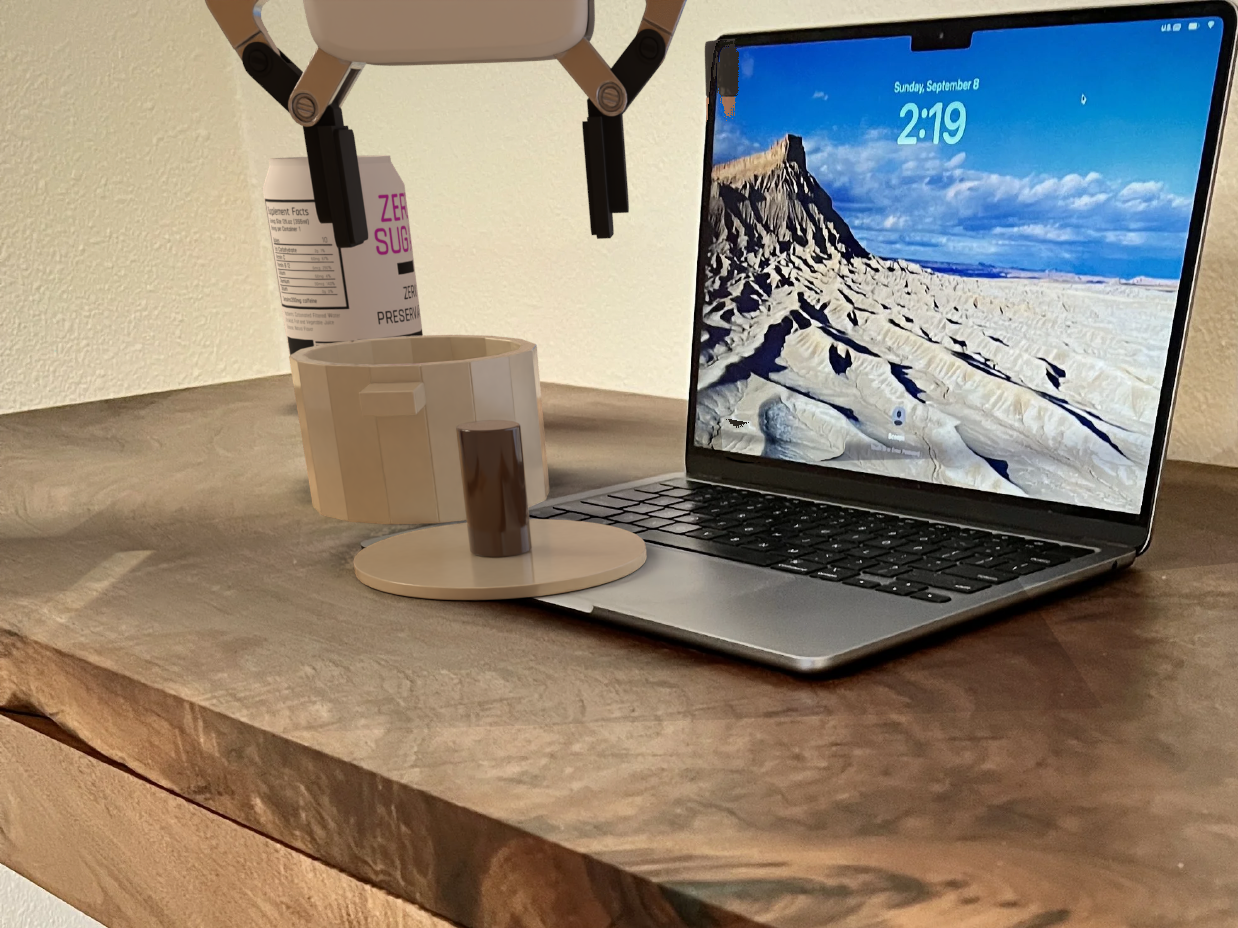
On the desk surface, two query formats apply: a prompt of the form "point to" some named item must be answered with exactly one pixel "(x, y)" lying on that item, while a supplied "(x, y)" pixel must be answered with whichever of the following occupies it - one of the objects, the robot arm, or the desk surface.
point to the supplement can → (341, 259)
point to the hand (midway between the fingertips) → (478, 240)
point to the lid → (498, 537)
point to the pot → (410, 421)
